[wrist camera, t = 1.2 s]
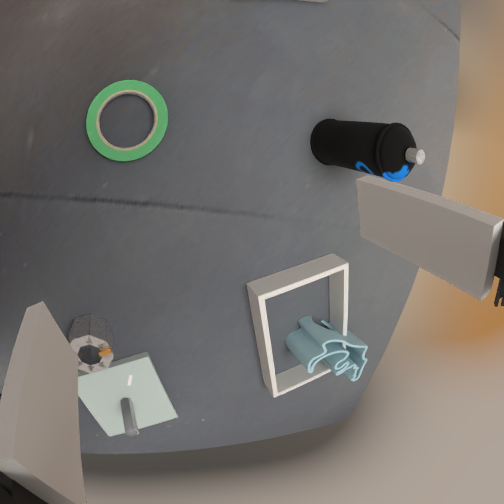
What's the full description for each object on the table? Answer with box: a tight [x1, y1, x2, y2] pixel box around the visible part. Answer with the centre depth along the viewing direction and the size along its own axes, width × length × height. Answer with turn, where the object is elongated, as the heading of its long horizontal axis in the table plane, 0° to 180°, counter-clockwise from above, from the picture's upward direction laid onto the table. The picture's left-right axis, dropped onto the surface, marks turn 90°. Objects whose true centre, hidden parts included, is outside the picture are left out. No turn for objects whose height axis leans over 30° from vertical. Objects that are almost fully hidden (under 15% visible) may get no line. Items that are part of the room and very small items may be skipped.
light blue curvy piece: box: [286, 316, 368, 381], centre depth 65 cm, size 18×10×9 cm, turn 63°
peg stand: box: [78, 351, 178, 437], centre depth 50 cm, size 16×18×10 cm
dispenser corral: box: [246, 253, 348, 398], centre depth 62 cm, size 18×26×5 cm
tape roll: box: [86, 80, 168, 161], centre depth 38 cm, size 11×11×3 cm
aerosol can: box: [311, 119, 425, 182], centre depth 44 cm, size 8×8×20 cm
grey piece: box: [68, 314, 114, 373], centre depth 45 cm, size 7×7×7 cm
